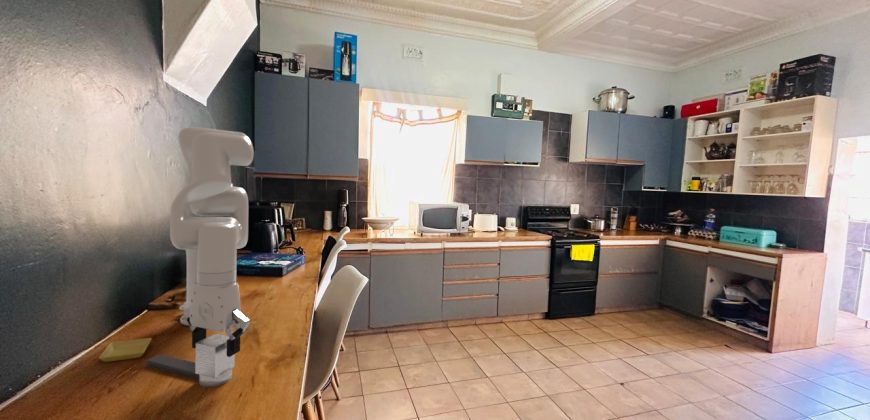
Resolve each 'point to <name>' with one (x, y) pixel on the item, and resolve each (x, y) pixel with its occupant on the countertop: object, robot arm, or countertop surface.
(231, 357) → the white block
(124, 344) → the flat yellow-green tile
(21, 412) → the countertop surface
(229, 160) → the robot arm
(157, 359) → the ratchet
